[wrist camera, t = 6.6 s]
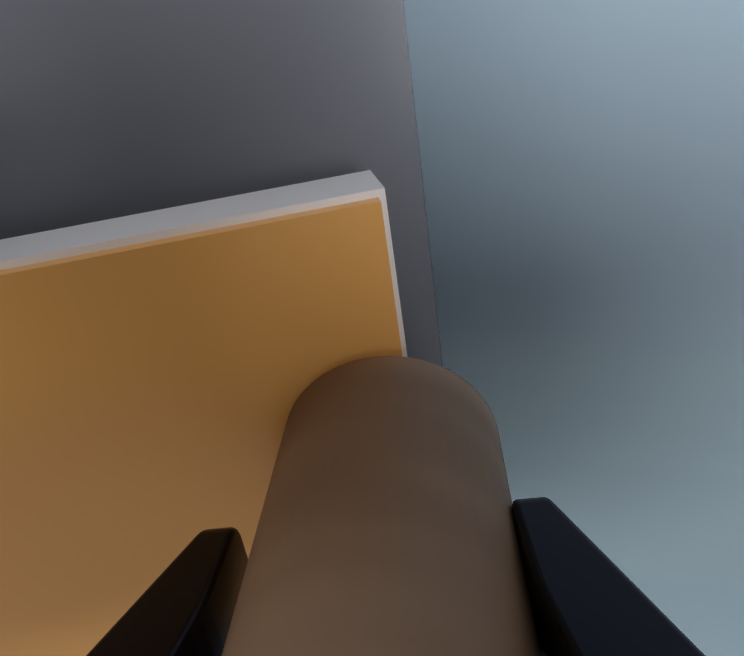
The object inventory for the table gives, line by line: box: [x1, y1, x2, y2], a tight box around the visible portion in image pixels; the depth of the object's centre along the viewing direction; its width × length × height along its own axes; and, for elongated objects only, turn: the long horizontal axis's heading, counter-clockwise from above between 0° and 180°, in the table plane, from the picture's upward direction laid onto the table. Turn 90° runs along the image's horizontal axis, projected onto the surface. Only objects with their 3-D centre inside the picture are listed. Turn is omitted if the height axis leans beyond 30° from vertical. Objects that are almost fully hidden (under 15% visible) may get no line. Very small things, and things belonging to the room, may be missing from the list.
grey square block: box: [0, 0, 442, 367], centre depth 12 cm, size 16×16×8 cm
